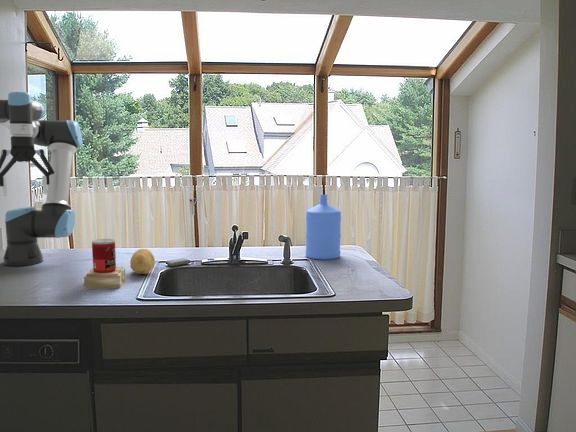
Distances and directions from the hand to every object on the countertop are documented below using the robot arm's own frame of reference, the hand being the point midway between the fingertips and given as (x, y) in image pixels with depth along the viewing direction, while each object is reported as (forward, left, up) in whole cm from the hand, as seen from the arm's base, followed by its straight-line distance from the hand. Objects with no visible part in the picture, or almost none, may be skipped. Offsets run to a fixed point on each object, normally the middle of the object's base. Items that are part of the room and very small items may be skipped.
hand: (25, 194), depth 200 cm
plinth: (+11, +29, -32) cm, 44 cm away
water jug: (-27, +117, -32) cm, 124 cm away
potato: (-4, +40, -32) cm, 51 cm away
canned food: (+11, +29, -27) cm, 41 cm away
